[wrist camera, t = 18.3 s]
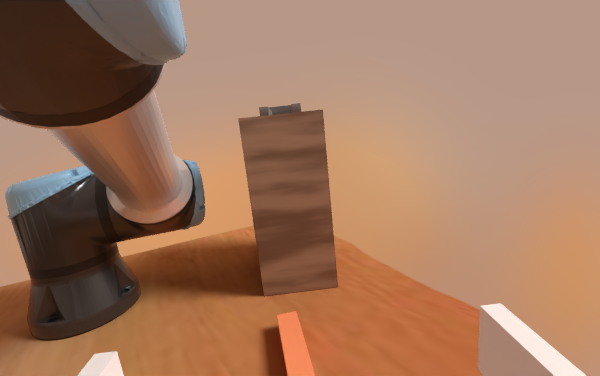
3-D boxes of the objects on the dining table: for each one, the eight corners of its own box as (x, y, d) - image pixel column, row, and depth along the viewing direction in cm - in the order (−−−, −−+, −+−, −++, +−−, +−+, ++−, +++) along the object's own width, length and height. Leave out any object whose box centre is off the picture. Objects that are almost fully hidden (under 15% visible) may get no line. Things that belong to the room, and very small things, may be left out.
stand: (337, 287, 49) (321, 95, 42) (264, 296, 48) (236, 103, 42) (323, 243, 66) (310, 103, 60) (269, 250, 66) (250, 110, 59)
